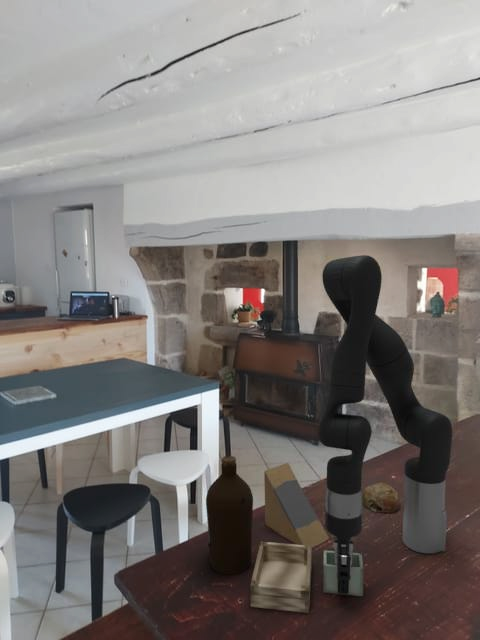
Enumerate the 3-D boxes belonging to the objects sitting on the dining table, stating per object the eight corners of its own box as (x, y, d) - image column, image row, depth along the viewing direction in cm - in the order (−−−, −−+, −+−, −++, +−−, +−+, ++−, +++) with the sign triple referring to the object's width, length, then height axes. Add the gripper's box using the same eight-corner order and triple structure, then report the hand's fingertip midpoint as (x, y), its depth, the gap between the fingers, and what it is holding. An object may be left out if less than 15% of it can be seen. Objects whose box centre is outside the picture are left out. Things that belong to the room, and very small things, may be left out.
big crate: (311, 564, 113) (311, 545, 113) (308, 613, 98) (309, 591, 97) (260, 560, 115) (260, 541, 115) (250, 606, 100) (250, 585, 99)
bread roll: (360, 518, 140) (359, 500, 136) (365, 489, 148) (364, 470, 144) (397, 525, 136) (397, 506, 132) (400, 495, 144) (400, 476, 140)
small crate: (361, 579, 108) (361, 553, 107) (362, 596, 102) (363, 569, 102) (323, 575, 109) (323, 550, 108) (323, 592, 104) (323, 565, 103)
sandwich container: (306, 551, 119) (306, 491, 117) (264, 525, 131) (263, 470, 129) (330, 538, 124) (331, 481, 122) (288, 514, 136) (287, 461, 134)
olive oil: (260, 554, 118) (259, 452, 114) (243, 581, 108) (242, 471, 105) (218, 545, 121) (216, 446, 118) (199, 570, 112) (196, 464, 108)
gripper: (364, 527, 96) (363, 608, 98) (360, 492, 110) (358, 564, 112) (324, 524, 97) (324, 604, 99) (325, 490, 111) (325, 561, 113)
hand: (342, 582), depth 106 cm, fingers closed on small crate, 5 cm apart
